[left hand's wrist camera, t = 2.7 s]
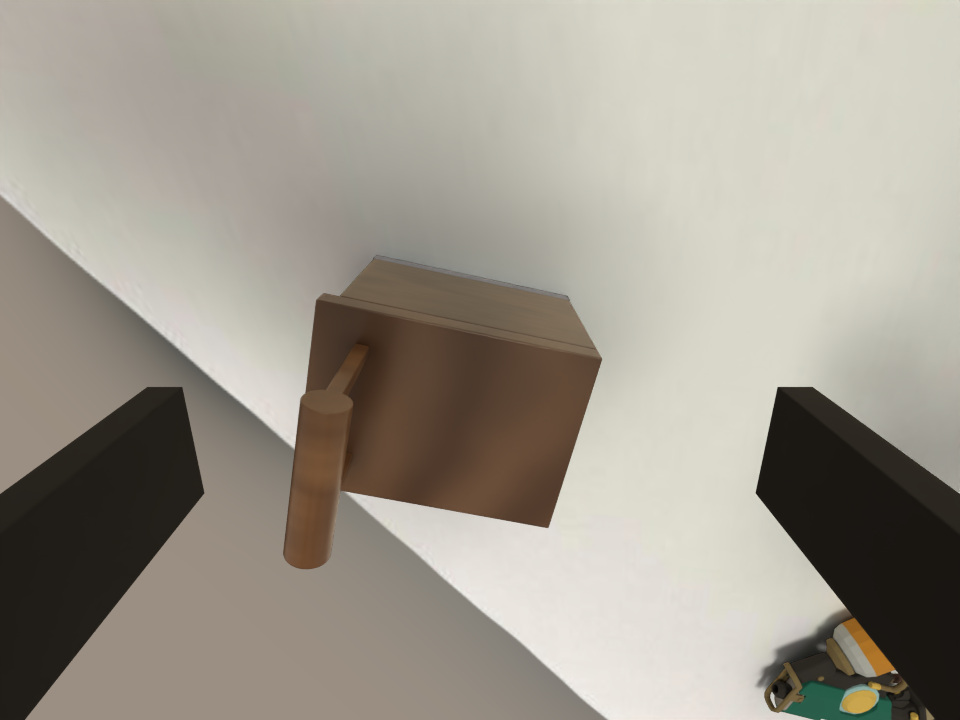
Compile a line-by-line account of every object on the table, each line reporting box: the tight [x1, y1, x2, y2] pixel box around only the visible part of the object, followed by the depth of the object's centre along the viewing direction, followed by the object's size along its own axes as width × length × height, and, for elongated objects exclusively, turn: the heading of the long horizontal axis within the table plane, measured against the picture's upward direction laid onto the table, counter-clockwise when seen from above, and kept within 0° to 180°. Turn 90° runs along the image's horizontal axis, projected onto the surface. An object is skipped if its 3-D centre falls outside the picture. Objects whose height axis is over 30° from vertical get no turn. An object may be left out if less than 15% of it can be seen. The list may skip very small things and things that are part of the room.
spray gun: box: [764, 618, 935, 720], centre depth 47 cm, size 4×17×15 cm
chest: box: [340, 255, 597, 350], centre depth 34 cm, size 13×10×10 cm
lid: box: [283, 293, 602, 569], centre depth 25 cm, size 14×10×9 cm
